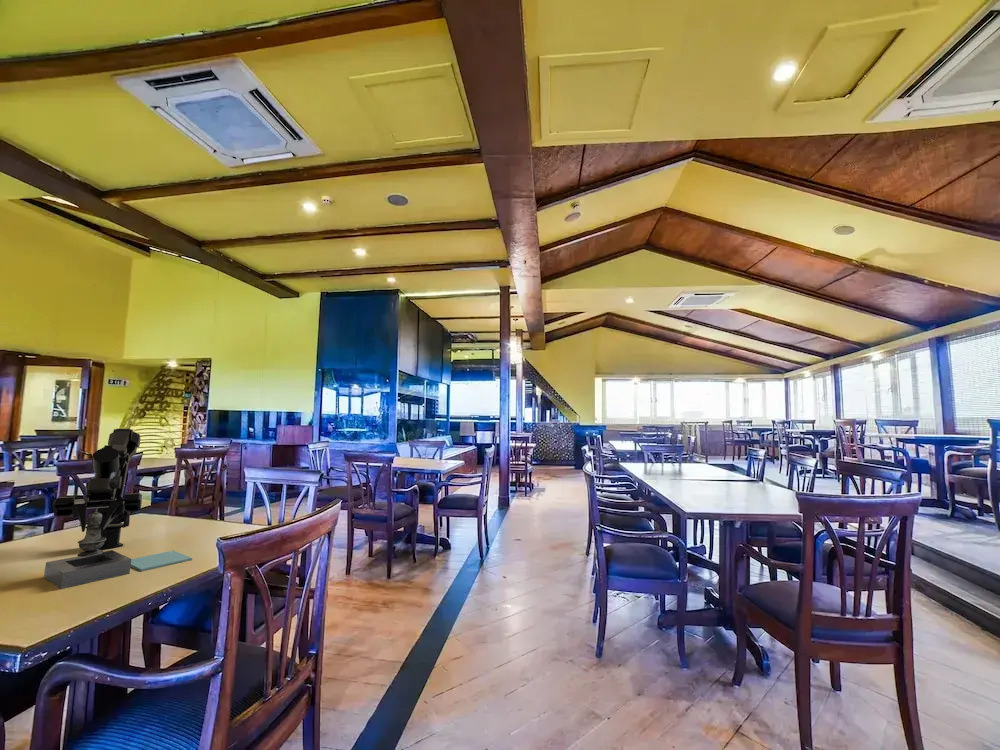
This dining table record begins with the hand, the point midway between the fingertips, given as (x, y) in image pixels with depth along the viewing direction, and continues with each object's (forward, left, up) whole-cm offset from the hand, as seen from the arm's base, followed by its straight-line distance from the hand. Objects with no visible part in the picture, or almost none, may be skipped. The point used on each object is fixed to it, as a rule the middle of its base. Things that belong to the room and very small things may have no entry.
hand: (92, 530), depth 119 cm
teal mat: (0, +17, -12) cm, 21 cm away
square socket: (-1, +1, -12) cm, 12 cm away
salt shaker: (-1, +1, -7) cm, 7 cm away
